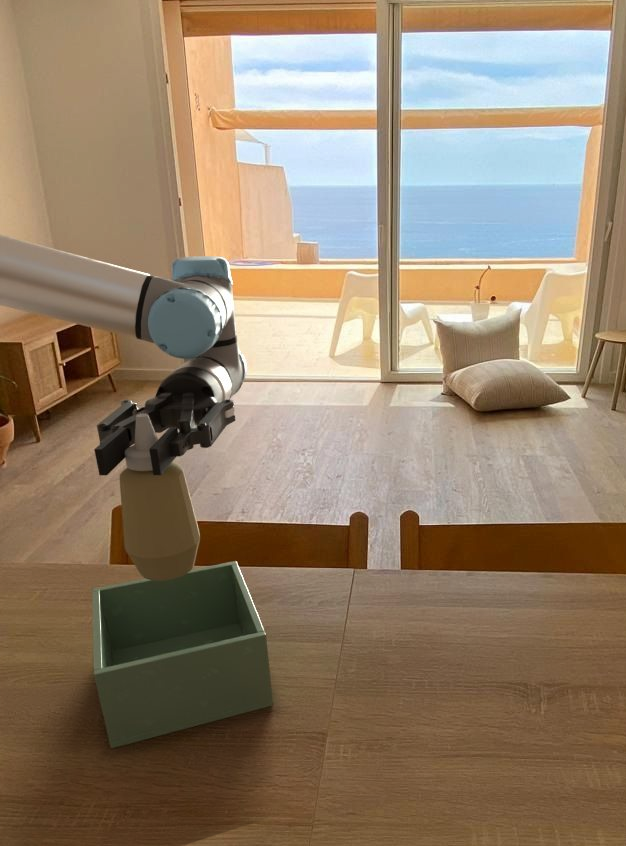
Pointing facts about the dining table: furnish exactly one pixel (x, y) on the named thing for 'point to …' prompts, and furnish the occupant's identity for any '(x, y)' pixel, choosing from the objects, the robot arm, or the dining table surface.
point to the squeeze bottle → (156, 512)
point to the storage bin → (178, 653)
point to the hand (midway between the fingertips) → (128, 462)
